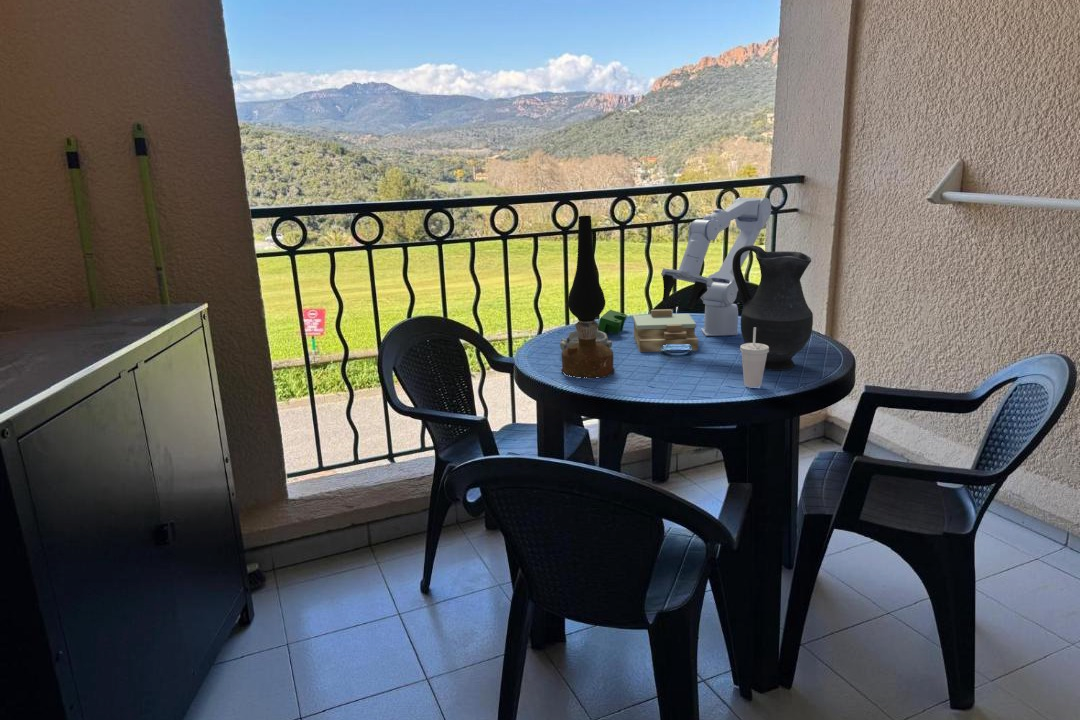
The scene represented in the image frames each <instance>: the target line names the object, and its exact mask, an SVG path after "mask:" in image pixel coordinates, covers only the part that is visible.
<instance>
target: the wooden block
mask: <svg viewBox="0 0 1080 720" xmlns="http://www.w3.org/2000/svg"><path fill="white" fill-rule="evenodd" d="M664 338H665V339H679V338H687V333H686V331H677V332H664Z"/></svg>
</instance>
